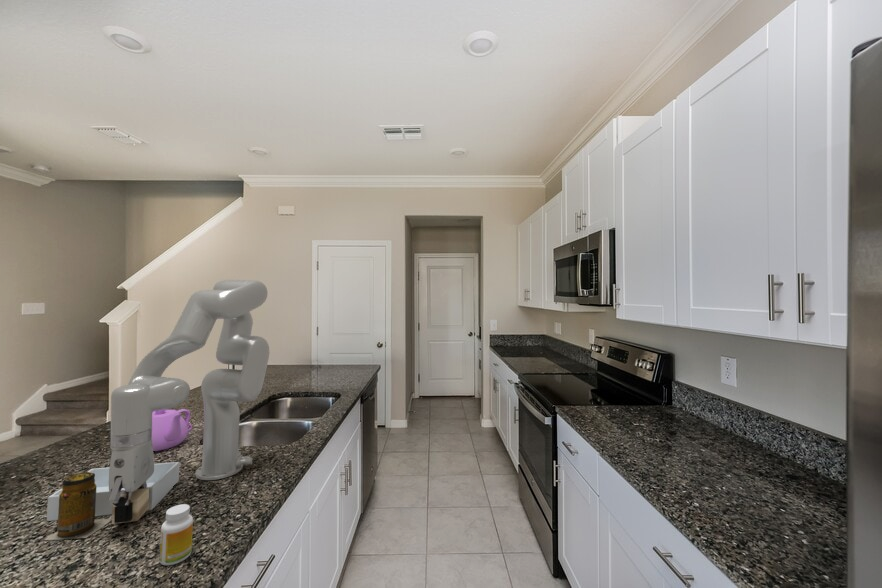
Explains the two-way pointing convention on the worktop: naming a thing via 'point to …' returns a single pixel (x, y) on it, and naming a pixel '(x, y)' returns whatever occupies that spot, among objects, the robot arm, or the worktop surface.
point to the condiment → (77, 508)
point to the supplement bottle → (176, 535)
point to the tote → (157, 484)
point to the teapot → (169, 428)
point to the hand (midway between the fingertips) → (130, 513)
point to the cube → (136, 504)
